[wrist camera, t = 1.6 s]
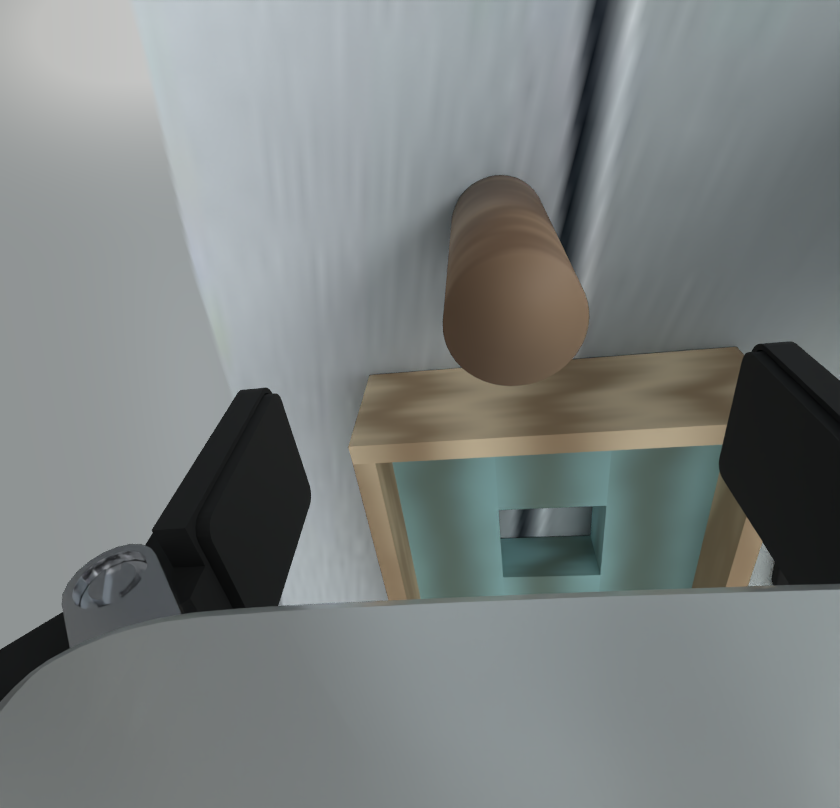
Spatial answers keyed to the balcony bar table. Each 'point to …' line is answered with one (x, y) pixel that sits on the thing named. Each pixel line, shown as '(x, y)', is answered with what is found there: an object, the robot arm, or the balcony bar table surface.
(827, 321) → the balcony bar table surface
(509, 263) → the peg
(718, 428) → the box
